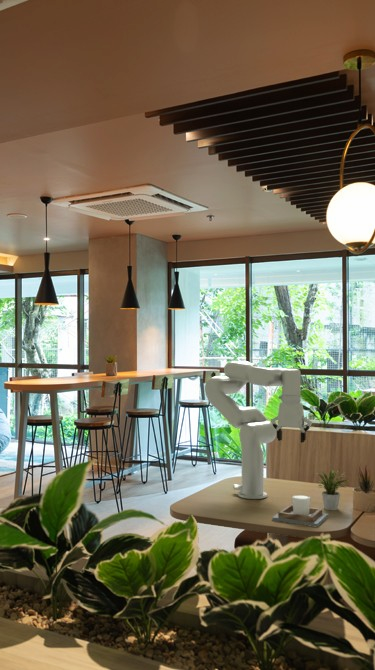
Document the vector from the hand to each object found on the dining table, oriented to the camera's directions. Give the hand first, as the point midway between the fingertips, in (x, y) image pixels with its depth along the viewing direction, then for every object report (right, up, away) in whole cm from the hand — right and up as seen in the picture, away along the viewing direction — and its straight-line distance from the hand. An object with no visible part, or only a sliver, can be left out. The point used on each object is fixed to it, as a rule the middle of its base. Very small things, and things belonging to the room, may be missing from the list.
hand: (291, 441), depth 245 cm
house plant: (+15, -27, -5) cm, 31 cm away
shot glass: (+1, -25, -19) cm, 31 cm away
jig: (0, -26, -19) cm, 32 cm away
